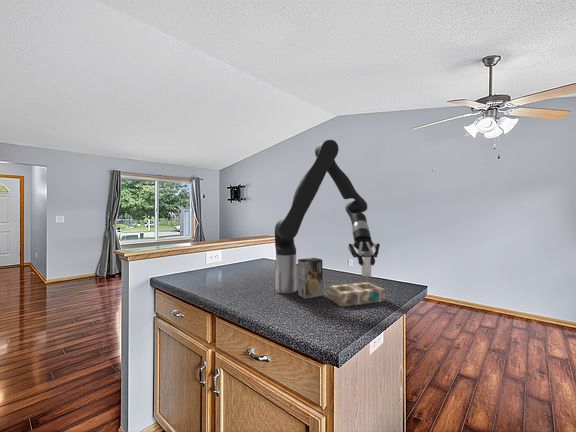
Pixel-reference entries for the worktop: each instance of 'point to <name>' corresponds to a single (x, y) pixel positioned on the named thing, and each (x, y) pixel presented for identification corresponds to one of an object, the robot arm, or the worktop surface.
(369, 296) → the socket block
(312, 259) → the coffee box
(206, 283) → the worktop surface
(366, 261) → the plug
